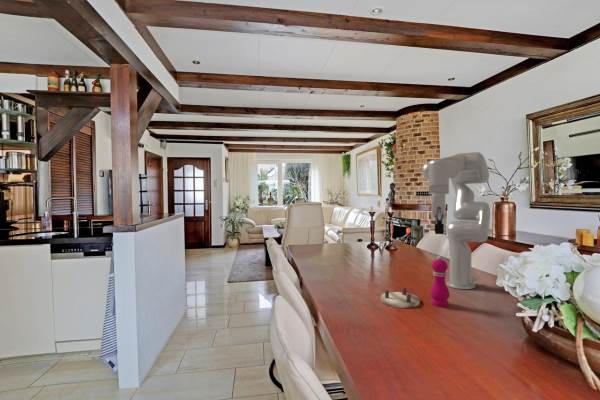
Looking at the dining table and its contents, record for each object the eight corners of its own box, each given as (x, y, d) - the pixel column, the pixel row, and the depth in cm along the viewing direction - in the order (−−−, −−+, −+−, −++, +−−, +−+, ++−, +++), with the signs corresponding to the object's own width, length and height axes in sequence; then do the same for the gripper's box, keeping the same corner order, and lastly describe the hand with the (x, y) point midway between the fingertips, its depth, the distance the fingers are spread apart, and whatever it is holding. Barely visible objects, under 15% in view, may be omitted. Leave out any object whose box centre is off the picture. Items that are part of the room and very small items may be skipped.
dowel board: (402, 293, 146) (402, 283, 146) (428, 304, 131) (428, 293, 131) (372, 298, 140) (372, 288, 139) (397, 310, 125) (397, 299, 125)
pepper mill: (451, 308, 126) (451, 257, 126) (432, 307, 128) (431, 257, 127) (447, 302, 133) (446, 254, 133) (428, 301, 135) (428, 253, 135)
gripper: (428, 190, 139) (429, 230, 139) (428, 190, 123) (428, 234, 123) (447, 190, 136) (448, 230, 137) (450, 190, 120) (450, 235, 121)
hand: (439, 232), depth 130 cm, fingers open, 9 cm apart
